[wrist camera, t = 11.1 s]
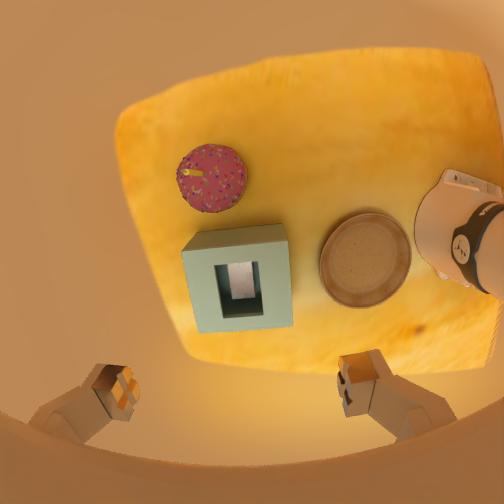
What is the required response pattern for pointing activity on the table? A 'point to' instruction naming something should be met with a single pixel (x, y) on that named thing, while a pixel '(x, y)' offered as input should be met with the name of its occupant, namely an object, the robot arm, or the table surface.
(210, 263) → the coin box
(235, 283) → the block
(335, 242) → the plant saucer
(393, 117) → the table surface
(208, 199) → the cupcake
